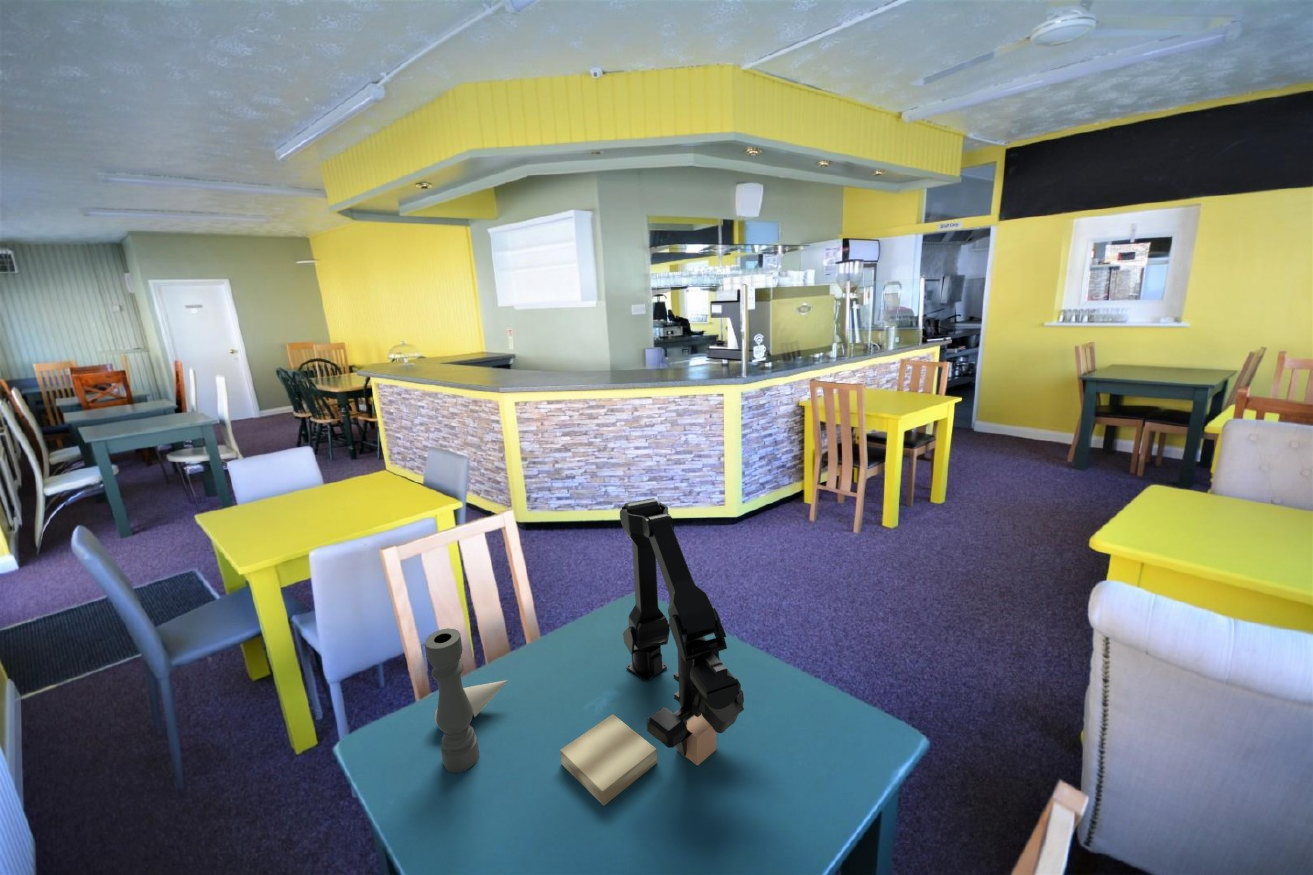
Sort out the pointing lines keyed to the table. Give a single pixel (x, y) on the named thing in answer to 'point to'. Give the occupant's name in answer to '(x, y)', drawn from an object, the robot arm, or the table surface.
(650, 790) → the table surface
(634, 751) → the birch base
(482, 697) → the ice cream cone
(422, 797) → the table surface
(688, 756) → the terracotta block
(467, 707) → the candle holder
